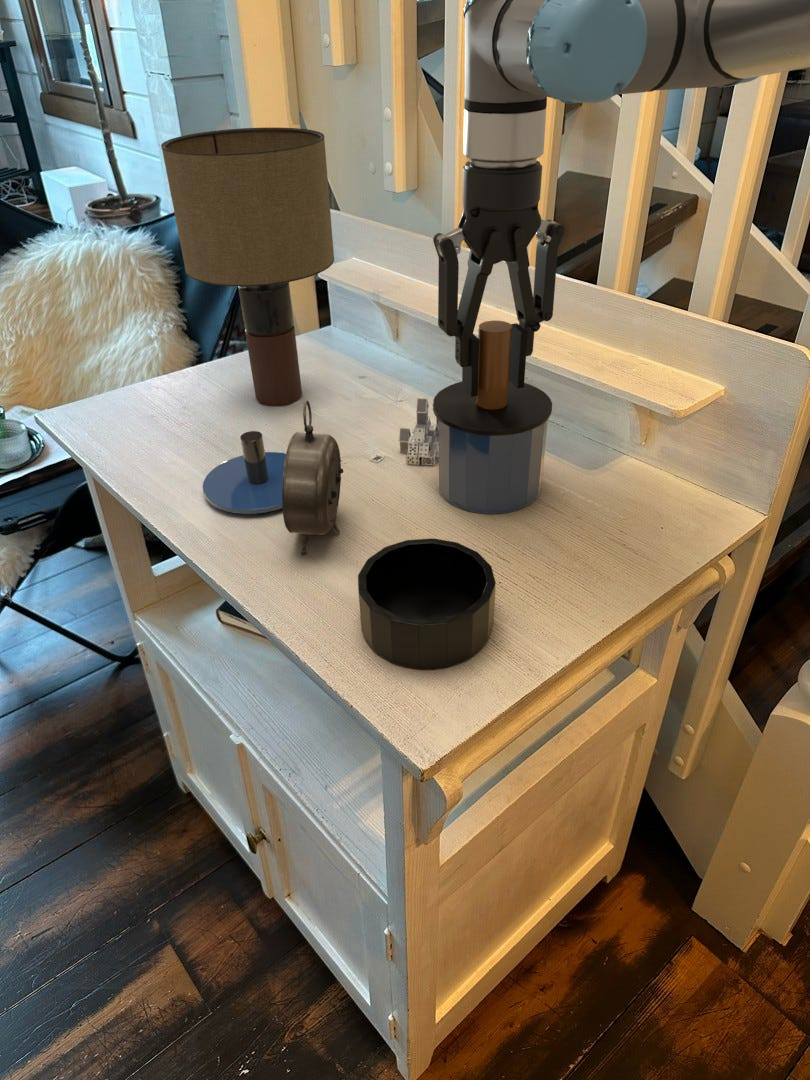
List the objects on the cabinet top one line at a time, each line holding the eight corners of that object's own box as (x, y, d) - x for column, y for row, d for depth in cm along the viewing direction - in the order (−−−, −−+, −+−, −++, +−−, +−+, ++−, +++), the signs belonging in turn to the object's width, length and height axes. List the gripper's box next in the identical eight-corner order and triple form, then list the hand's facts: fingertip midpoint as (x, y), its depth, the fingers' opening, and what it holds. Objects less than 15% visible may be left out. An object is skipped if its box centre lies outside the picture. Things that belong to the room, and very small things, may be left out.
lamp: (306, 359, 127) (280, 122, 106) (369, 401, 113) (353, 139, 92) (191, 390, 118) (139, 139, 97) (245, 440, 104) (196, 160, 84)
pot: (560, 481, 93) (568, 403, 87) (501, 526, 86) (505, 445, 80) (477, 449, 100) (480, 375, 94) (416, 489, 93) (414, 412, 87)
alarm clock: (306, 505, 91) (291, 378, 81) (351, 506, 90) (340, 379, 81) (286, 561, 82) (266, 426, 72) (335, 562, 81) (321, 427, 72)
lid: (573, 407, 88) (583, 321, 82) (506, 453, 80) (511, 361, 74) (479, 377, 95) (481, 296, 89) (408, 417, 87) (406, 330, 81)
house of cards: (383, 429, 106) (380, 378, 101) (445, 433, 104) (445, 382, 100) (368, 462, 99) (365, 408, 94) (434, 467, 97) (434, 412, 93)
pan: (517, 616, 74) (521, 572, 70) (436, 691, 66) (436, 645, 63) (418, 566, 81) (418, 523, 77) (334, 629, 73) (329, 585, 70)
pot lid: (337, 482, 95) (332, 431, 90) (252, 531, 87) (242, 478, 82) (265, 449, 102) (258, 400, 98) (182, 492, 94) (169, 440, 90)
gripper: (568, 145, 77) (548, 362, 91) (400, 162, 72) (406, 387, 86) (607, 158, 71) (580, 387, 85) (427, 176, 67) (429, 415, 80)
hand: (492, 386), depth 85 cm, fingers open, 5 cm apart
